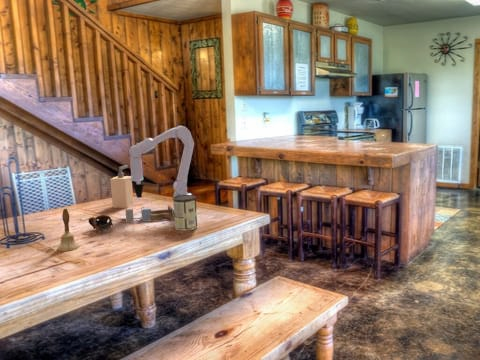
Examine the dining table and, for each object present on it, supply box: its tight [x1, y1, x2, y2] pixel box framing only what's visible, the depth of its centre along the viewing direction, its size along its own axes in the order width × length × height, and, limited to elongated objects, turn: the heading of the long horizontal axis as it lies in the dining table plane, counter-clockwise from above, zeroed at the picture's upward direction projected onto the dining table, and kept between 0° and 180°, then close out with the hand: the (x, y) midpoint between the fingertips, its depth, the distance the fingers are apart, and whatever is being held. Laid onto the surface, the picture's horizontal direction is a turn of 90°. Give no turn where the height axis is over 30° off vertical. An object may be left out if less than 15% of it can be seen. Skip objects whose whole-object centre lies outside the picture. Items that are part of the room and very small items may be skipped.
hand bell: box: [56, 208, 80, 252], centre depth 174 cm, size 8×8×16 cm
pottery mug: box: [88, 214, 114, 234], centre depth 198 cm, size 12×10×8 cm
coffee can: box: [172, 195, 198, 232], centre depth 198 cm, size 10×10×14 cm
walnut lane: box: [150, 204, 174, 222], centre depth 217 cm, size 10×9×5 cm
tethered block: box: [125, 206, 152, 223], centre depth 214 cm, size 12×4×6 cm, turn 106°
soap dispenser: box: [109, 164, 134, 209], centre depth 246 cm, size 13×9×22 cm
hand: (138, 195), depth 224 cm, fingers open, 7 cm apart
